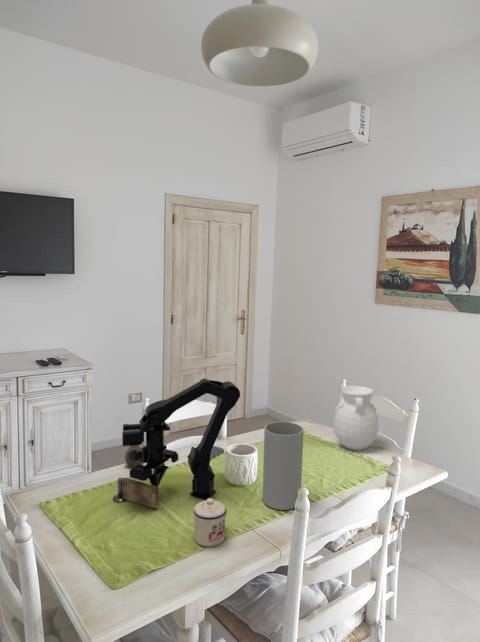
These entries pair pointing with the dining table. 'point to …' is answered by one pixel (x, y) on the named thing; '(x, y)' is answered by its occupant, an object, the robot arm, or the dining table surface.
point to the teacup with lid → (209, 523)
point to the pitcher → (356, 418)
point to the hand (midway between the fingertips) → (154, 489)
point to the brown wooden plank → (140, 492)
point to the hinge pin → (119, 493)
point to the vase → (128, 462)
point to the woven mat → (216, 451)
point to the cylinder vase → (282, 464)
